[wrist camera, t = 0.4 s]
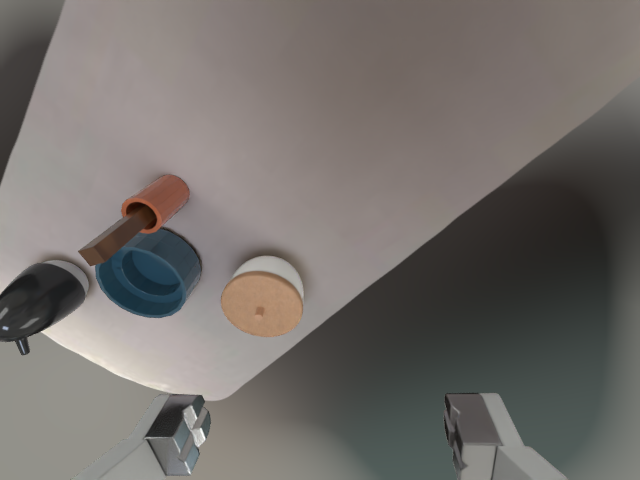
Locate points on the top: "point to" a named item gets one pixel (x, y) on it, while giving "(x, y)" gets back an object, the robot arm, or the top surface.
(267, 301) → the lidded bowl
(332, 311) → the top surface
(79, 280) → the black rounded egg shape
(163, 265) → the mixing bowl
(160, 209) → the pot
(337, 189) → the top surface
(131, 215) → the stirring stick
